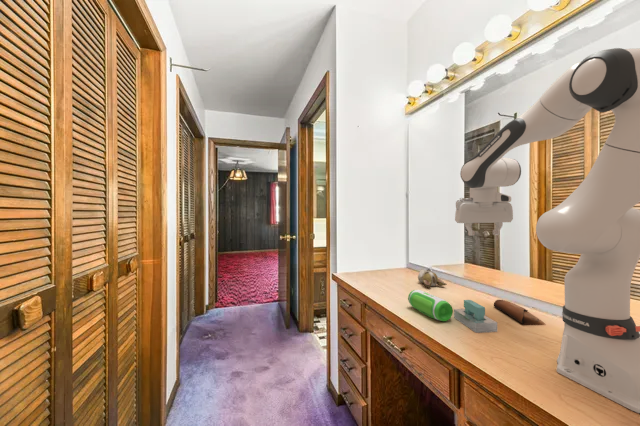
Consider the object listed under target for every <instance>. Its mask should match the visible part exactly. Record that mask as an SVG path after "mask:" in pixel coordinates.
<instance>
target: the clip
mask: <svg viewBox="0 0 640 426" xmlns="http://www.w3.org/2000/svg"><path fill="white" fill-rule="evenodd" d="M463 308H464V309H465V313H466V314H474V319H476V320H477V321H478V320H484V315H485V316H486V307H485V306H483V305H481V304H479V303H477V302H475V301H474V300H472V299H463Z"/></svg>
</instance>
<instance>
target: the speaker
mask: <svg viewBox="0 0 640 426" xmlns="http://www.w3.org/2000/svg"><path fill="white" fill-rule="evenodd" d="M407 301H408V303H409V305H410V306H411V307H413V308H414V309H415V310H417V311H418V312H420V313H421V314H423V315H425V316H426V317H429V318H431V319H434V320H436V321H440V322H447V321H450V319H451V318H452V316H453V315H454V309H453V306H452V305H451V304H450V303H449V301H447V300H445V299H443V298H441V297H438V296H436V295H434V294H431V293H428V292H426V291H423V290H421V289H413V290H411V291H410V292H409V293H408V296H407Z"/></svg>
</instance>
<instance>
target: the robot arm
mask: <svg viewBox="0 0 640 426" xmlns="http://www.w3.org/2000/svg"><path fill="white" fill-rule="evenodd" d="M592 109H594V110H596V111H597V112H599V113H606V112H610V111H611V112H612V114H613V115H614V124H613V126H612V128H611V130H610V133H609V134H608V136H607V138H606V139H605V140H606V141H605V142H604V144H603V147H602V148H601V150H600V152H599V153H598V155H597V157H596V159H595V161H594V163H593V165H592V167H591V169H590V171H589V172H588V174H587V175H586V176H585V178H584V179H583V180H582V182H581V183H580V184H579V185H578V187H576V188H575V190H573V192H572V193H570V195H568V196H567V198H565V199H564V200H562V202H561V203H559V204H558V205H556V206H555V207H553V208H551V209H549V210H548V211H546V212H544V213H542V215H540V217H538V220H537V223H536V225H535V233H536V236H537V238H538V241H539V242H540V243H541V245H543V247H545V248H546V249H548V250H550V251H555V252H560V253H565V254H571V255H572V254H573V255H575V254H578V255H579V254H580V256H579V259H578V261H577V262H576V263H575V265H574V266H573V267H572V268H571V269H569V270H568V271H567V272H566V274H565V275H564V280H563V281H564V304H563V306H562V311H561V315H562V321H563V323H564V327H563V332H562V337H561V345H560V351H559V354H558V357H557V359H556V362H557V365H556V369H555V370H556V372H557V373H558V374H560V375H562V376H564V377H566V378H568V379H570V380H571V381H574V382H576V383H577V384H579V385H581V386H583V387H585V388H588V390H592V391H594V392H595V393H596V394H597V393H598V394H600V395H601V396H604V397H605V398H607V399H608V400H611V401H612V402H614V403H617V404H618V405H621V406H623V407H625V408H627V409H629V410H630V411H632V412H634V413H637V414H640V325H639V326H638V325H636V323H635V321H634V319H633V317H632V316H631V285H632V280H633V276H634V273H635V271H636V267H637V265H638V262H639V261H640V209H638V208H634V207H635V206H636V205H638V204H639V203H640V48H619V47H615V48H609V49H604V50H601V51H600V50H598V51H597V52H594V53H592V54H589V55H587V56H586V57H585V58H584V59H583V60H581V61H579V62H576V63H575V64H572V65H571V66H570V67H569V68H568V69H566V70H565V71H564V72H563V73H562V74H561V75H560V76H558V78H556V80H555V81H553V82H552V84H550V86H549V87H548V88H547V89H546V90H545V91H544V93H542V95H541V96H540V97H539V98H538V99H537V100H536V101H535V102H534V104H532V105H531V106H530V107H529V108H528V109H527V110H525V111H524V112H523V113H522V114H520V115H519V116H517V117H516V118H514V119H512V120H511V121H509V122H508V123H506V124H505V125H504V126H503V127H502V128H501V129H500V130H499V131H498V132H497V133H496V134H495V135H493V137H492V138H491V139H490V140H489V141H488V142H487V143H486V144H485V145H484V146H482V148H481V149H480V150H479V151H478V152H477V153H476V154H475V155H474V156H472V157H470V158H468V159H467V160H466V161H465V162H464V163H463V165H462V166H461V169H460V173H459V174H460V178H461V180H462V182H463V183H464V184H465V185H466V186H467V187H468V188H469V197H466V198H465V197H460V198H459V199H457V200H456V201H455V208H456V209H455V214H454V221H455V222H456V223H457V224H464V227H465V228H466V230H467V234H468V236H469V237H470V236H471V237H472V236H475V235H476V234H475V233H476V231H475V230H473V229H472V225H473V224H486V223H487V224H488V223H489V224H492V223H493V224H494V225H495V227H494V229H492V235H493V236H499V235H500V231H501V229H502V228H503V225H504V224H503V223H511V222H512V221H513V220H514V212H513V211H514V210H513V204H511V203H510V202H512V196H510V195H508V194H504V193H501V192H499V191H498V187H510V186H514V185H515V184H516V183H517V182H518V181H519V180H520V178H521V175H522V167H521V165H520V163H519V162H518V160H516V159H515V158H509V157H504V156H505V155H506V154H508V153H509V152H510V151H511V150H513V149H516V148H517V147H520V146H523V145H527V144H531V143H535V142H541V141H548V140H551V139H556V138H558V137H560V136H562V135H563V134H565V133H567V132H568V131H570V130H571V129H573V127H575V126H576V125H577V124H578V123H579V122H580V121H581V120H582V119H583V118H584V117H585V116H586V115H587V113H589V112H590V111H591V110H592Z"/></svg>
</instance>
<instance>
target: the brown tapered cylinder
mask: <svg viewBox="0 0 640 426" xmlns="http://www.w3.org/2000/svg"><path fill="white" fill-rule="evenodd" d="M493 307H494V308H496V309H498V310H499V311H501V312H504V313H505V314H507V315H509V316H510V317H511V318H513V319H515V321H517V322H519V323H520V324H522V325H523V326H546V323H544V322H543V321H542V320H541V319H540V318H538V317H537V316H536V315H534V314H532V313H530V312H529V310H528V309H526V308H524V307H523V306H521V305H518V304H516V303H514V302H511V301H508V300H504V299H496V300H494V301H493Z"/></svg>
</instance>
